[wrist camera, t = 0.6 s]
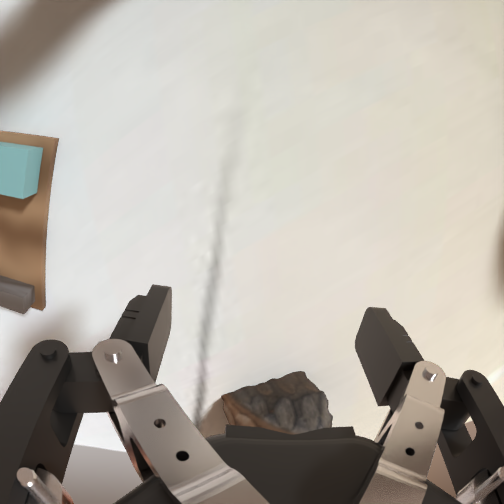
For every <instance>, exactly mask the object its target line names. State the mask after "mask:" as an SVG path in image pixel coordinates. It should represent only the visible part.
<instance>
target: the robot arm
mask: <svg viewBox="0 0 504 504" xmlns="http://www.w3.org/2000/svg"><path fill="white" fill-rule="evenodd" d="M171 308H172V289H171V287H168V286H160V285H152V286H151V288H150V290H149V292H148V294H147V296H142V295H138V296H136V297H135V298H133V299H132V300H131V301H129V303H128V305H127V307H126V309H125V311H124V312H123V314H122V317H121V318H120V320H119V321H118V323H117V325H116V327H115V329H114V331H113V333H112V335H111V337H110V338H109V339H107V340H104V341H101V342H99V343H98V344H97V345H96V346H95V347H94V348H93V351H92V352H82V353H69V351H68V348H67V346H66V345H65V344H64V343H63V342H61V341H58V340H45V341H42V342H40V343H38V344H36V345H35V346H34V347H33V348H32V350H31V351H30V353H29V354H28V356H27V358H26V359H25V361H24V362H23V364H22V366H21V367H20V369H19V371H18V372H17V374H16V376H15V378H14V379H13V381H12V383H11V384H10V386H9V388H8V390H7V392H6V393H5V395H4V397H3V399H2V401H1V402H0V504H74V503H73V500H72V498H71V496H70V495H69V493H68V492H67V491H66V490H65V488H64V487H63V486H62V482H63V478H64V475H65V471H66V468H67V464H68V461H69V457H70V454H71V451H72V447H73V444H74V441H75V438H76V435H77V432H78V429H79V426H80V423H81V420H82V417H83V414H84V413H98V412H107V414H108V416H109V418H110V420H111V422H112V424H113V426H114V428H115V430H116V432H117V434H118V436H119V438H120V440H121V442H122V444H123V445H124V447H125V449H126V451H127V453H128V455H129V457H130V460H131V462H132V464H133V466H134V468H135V470H136V472H137V473H138V475H139V477H140V478H141V480H142V481H143V483H141V484H140V485H139V486H137V487H136V488H135V489H133V490H132V491H130V492H129V493H128V494H126V495H125V496H123V497H122V498H121V499H119V500H118V501H116V502H115V503H113V504H504V406H503V404H502V402H501V401H500V399H499V398H498V396H497V394H496V393H495V391H494V389H493V388H492V386H491V385H490V383H489V381H488V380H487V379H486V377H485V376H483V375H482V374H481V373H479V372H477V371H474V370H467V371H465V372H464V373H463V374H462V376H461V378H460V379H454V378H449V377H446V375H445V373H444V371H443V370H442V369H441V368H440V367H439V366H438V365H436V364H434V363H432V362H429V361H424V359H423V358H422V356H421V354H420V353H419V351H418V350H417V348H416V346H415V345H414V343H412V340H411V338H410V337H409V336H408V334H407V332H406V331H405V329H404V327H403V326H401V325H400V324H399V323H398V322H397V321H395V320H393V319H392V317H391V316H390V314H389V312H388V311H387V310H386V309H385V308H375V307H369V308H367V310H366V311H365V314H364V317H363V320H362V322H361V325H360V328H359V330H358V333H357V336H356V340H355V349H356V352H357V355H358V357H359V359H360V362H361V364H362V367H363V369H364V372H365V374H366V377H367V379H368V381H369V384H370V387H371V389H372V392H373V394H374V397H375V399H376V402H377V404H378V406H388V405H389V406H390V410H389V411H388V413H387V415H386V417H385V419H384V421H383V423H382V426H381V428H380V430H379V432H378V434H377V436H376V438H375V440H374V441H372V440H370V439H367V438H364V437H360V436H356V435H355V432H354V429H353V426H352V427H332V428H321V429H317V430H313V431H309V432H304V433H300V434H287V433H282V432H278V431H274V430H270V429H265V428H261V427H251V426H237V425H226V428H225V434H219V435H214V436H210V437H207V438H204V437H203V436H202V434H201V433H200V432H199V431H198V429H197V428H196V427H195V425H194V424H193V423H192V422H191V420H190V419H189V418H188V416H187V415H186V414H185V412H184V411H183V410H182V408H181V407H180V406H179V404H178V403H177V401H176V400H175V399H174V397H173V396H172V394H171V393H170V392H169V390H168V389H167V388H166V386H165V385H163V384H159V385H156V384H155V382H156V378H157V375H158V371H159V368H160V365H161V361H162V358H163V354H164V351H165V348H166V344H167V341H168V338H169V334H170V329H171ZM470 416H471V418H472V420H473V422H474V424H475V426H476V430H477V433H476V437H475V439H474V440H473V441H472V440H471V437H470V435H469V433H468V431H467V429H466V427H465V424H464V423H465V422H466V421H467V419H468V418H469V417H470ZM437 443H438V445H439V448H440V450H441V453H442V456H443V458H444V461H445V464H446V466H447V469H448V472H449V475H450V478H451V480H452V484H453V486H454V489H455V492H456V495H457V496H456V499H455V498H454V497H452V496H451V495H449V494H448V493H446V492H445V491H443V490H442V489H440V488H439V487H437V486H436V485H435V484H433V483H432V482H430V481H429V480H427V479H426V478H427V474H428V471H429V468H430V465H431V462H432V459H433V455H434V452H435V448H436V444H437Z"/></svg>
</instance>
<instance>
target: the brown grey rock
mask: <svg viewBox="0 0 504 504" xmlns="http://www.w3.org/2000/svg"><path fill="white" fill-rule="evenodd" d="M221 397H222V399H223V401H224V406H223V409H224V412H225V414H226V417H227V419H228V421H229V424H230V425H237V426H251V427H261V428H265V429H270V430H274V431H278V432H282V433H287V434H300V433H304V432H309V431H313V430H317V429H321V428H331V427H332V419H333V416H332V415H331V414H330V413H329V410H328V400H327V398H326V395H325V394H324V392H323V391H320V390H319V389H318V388H317V387H316V385H315V384H313V383H312V382H311V381H310V380H309V379H308V378H307V377H306V375H305V372H302V371H298V372H293V373H290V374H287V375H285V376H283V377H282V378H279V379H271V380H269V381H267V382H265V383H260V384H258V385H256V386H247V387H243V388H241V389H238V390H237V391H235V392H231V393H228V394H224V395H222V396H221Z"/></svg>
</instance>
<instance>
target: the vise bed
mask: <svg viewBox="0 0 504 504" xmlns="http://www.w3.org/2000/svg"><path fill="white" fill-rule="evenodd" d="M58 141H59V138H53V137H46V136H39V135H31V134H24V133H15V132H7V131H0V142H7V143H14V144H21V145H28V146H35V147H41V148H43V153H42V159H41V165H40V173H39V180H38V189H37V193H36V194H33V195H31V196H29V197H26V198H24V199H20V198H15V197H11V196H6V195H1V194H0V306H2V307H5V308H7V309H10V310H13V311H16V312H19V313H22V314H25V312H26V311H27V310H28V309H29V308H30V307H33V308H36V309H39V310H42V311H43V309H44V308H45V307H46V300H45V260H46V237H47V222H48V211H49V201H50V192H51V184H52V177H53V170H54V163H55V157H56V151H57V146H58Z"/></svg>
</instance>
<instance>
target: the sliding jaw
mask: <svg viewBox="0 0 504 504" xmlns="http://www.w3.org/2000/svg"><path fill="white" fill-rule="evenodd" d="M42 153H43V148H41V147H35V146H28V145H21V144H14V143H7V142H0V194H1V195H6V196H11V197H15V198H20V199H24V198H26V197H29V196H31V195H33V194H36V193H37V189H38V180H39V173H40V165H41V159H42Z"/></svg>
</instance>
